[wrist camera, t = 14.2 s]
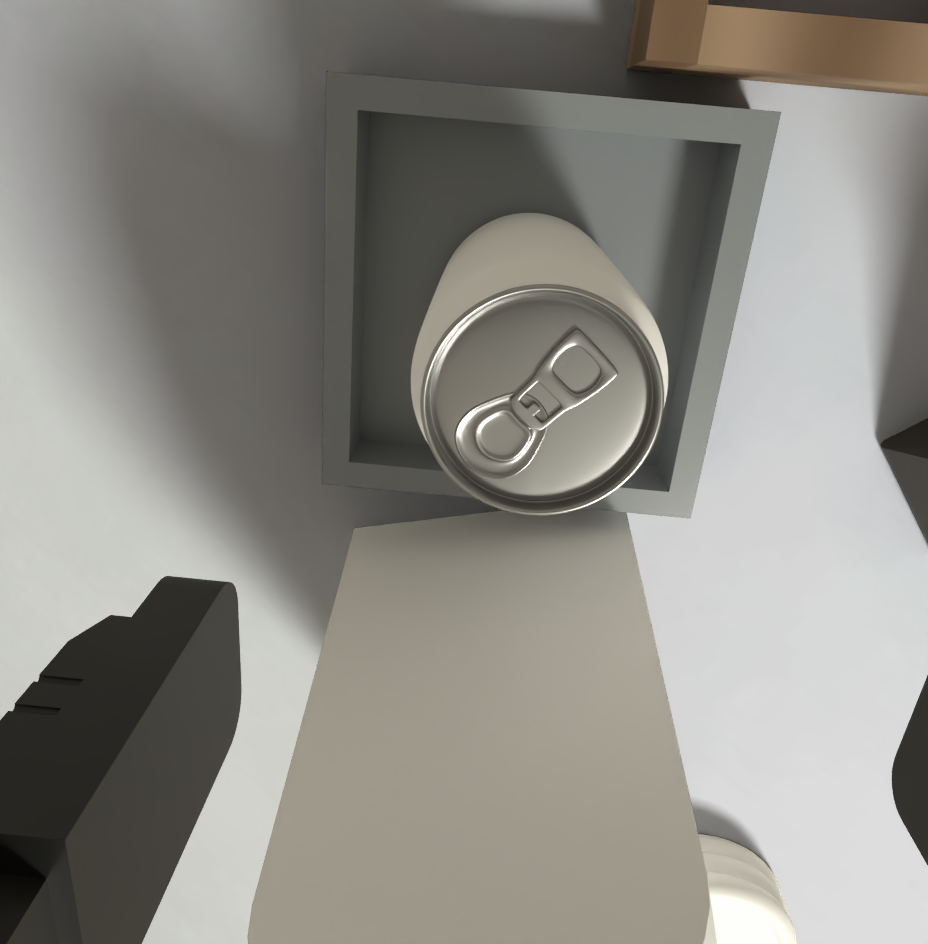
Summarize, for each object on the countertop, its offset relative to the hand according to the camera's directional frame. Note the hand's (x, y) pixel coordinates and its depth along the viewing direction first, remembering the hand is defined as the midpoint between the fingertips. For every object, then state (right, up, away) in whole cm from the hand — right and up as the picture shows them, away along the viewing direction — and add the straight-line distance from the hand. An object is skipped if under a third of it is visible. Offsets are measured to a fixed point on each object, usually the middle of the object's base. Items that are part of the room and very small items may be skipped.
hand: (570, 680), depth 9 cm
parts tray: (+1, +9, +20) cm, 22 cm away
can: (+1, +9, +20) cm, 22 cm away
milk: (+1, -5, +27) cm, 27 cm away
